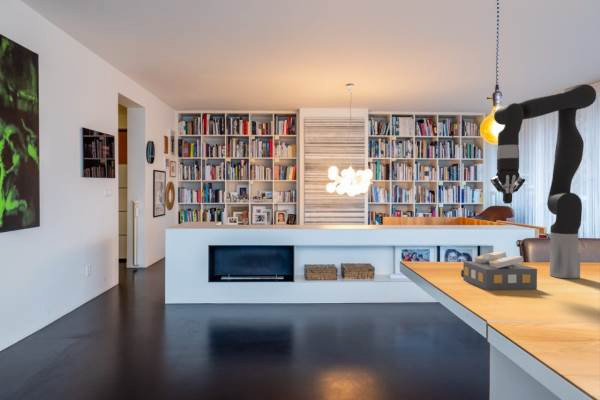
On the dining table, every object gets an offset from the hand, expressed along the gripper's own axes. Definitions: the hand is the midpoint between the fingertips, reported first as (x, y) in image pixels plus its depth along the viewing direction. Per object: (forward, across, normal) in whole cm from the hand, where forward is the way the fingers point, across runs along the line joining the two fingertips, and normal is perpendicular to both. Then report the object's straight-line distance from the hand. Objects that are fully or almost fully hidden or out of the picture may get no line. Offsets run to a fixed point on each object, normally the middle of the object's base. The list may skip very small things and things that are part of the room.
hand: (507, 203), depth 153 cm
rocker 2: (+21, +8, +13) cm, 26 cm away
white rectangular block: (+21, +8, +3) cm, 22 cm away
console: (+29, +8, +8) cm, 31 cm away
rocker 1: (+21, +8, +8) cm, 24 cm away
